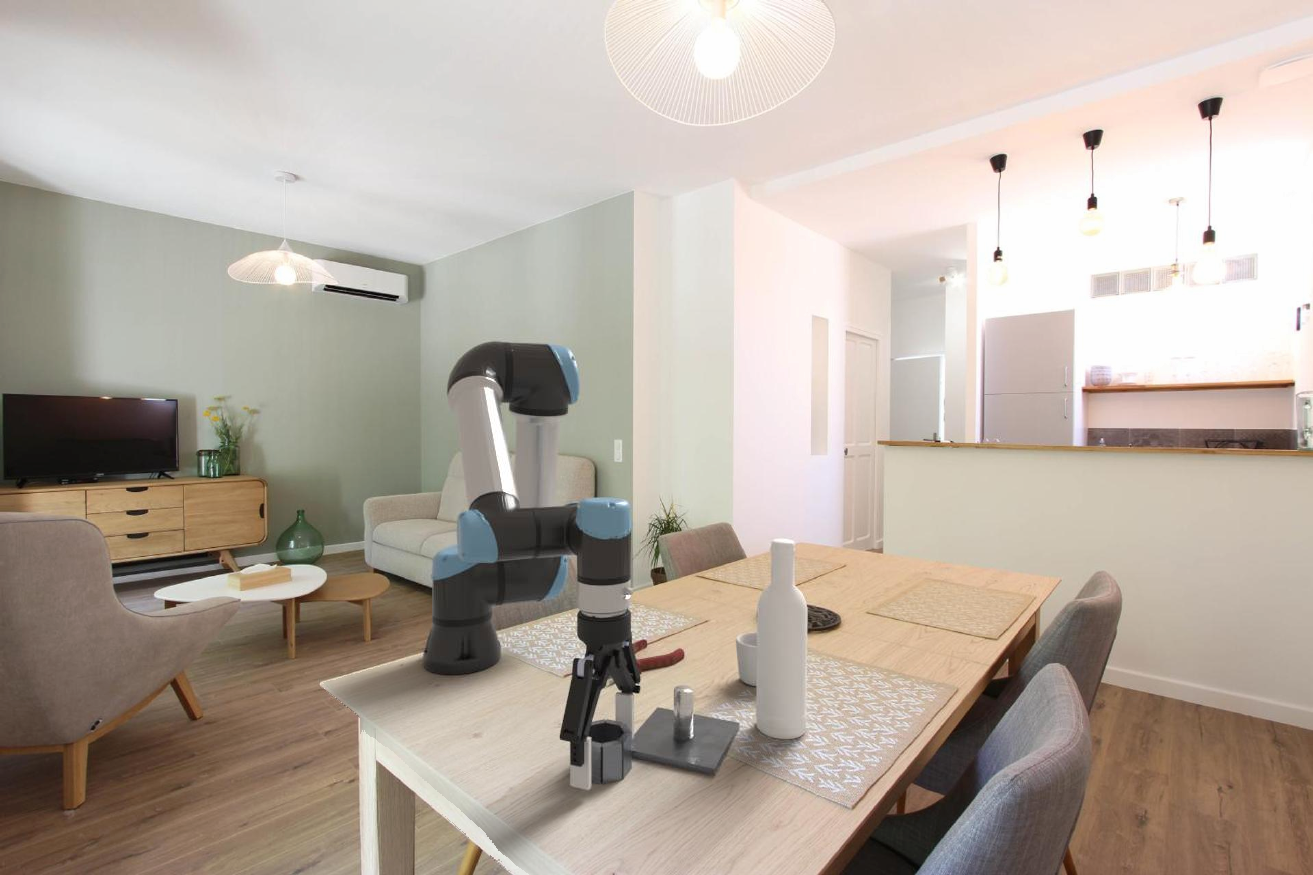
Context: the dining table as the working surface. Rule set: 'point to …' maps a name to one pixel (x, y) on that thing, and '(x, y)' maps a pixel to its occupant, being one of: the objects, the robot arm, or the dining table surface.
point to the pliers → (655, 658)
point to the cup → (747, 657)
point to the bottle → (781, 649)
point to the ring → (610, 751)
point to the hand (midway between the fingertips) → (604, 760)
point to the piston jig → (684, 736)
